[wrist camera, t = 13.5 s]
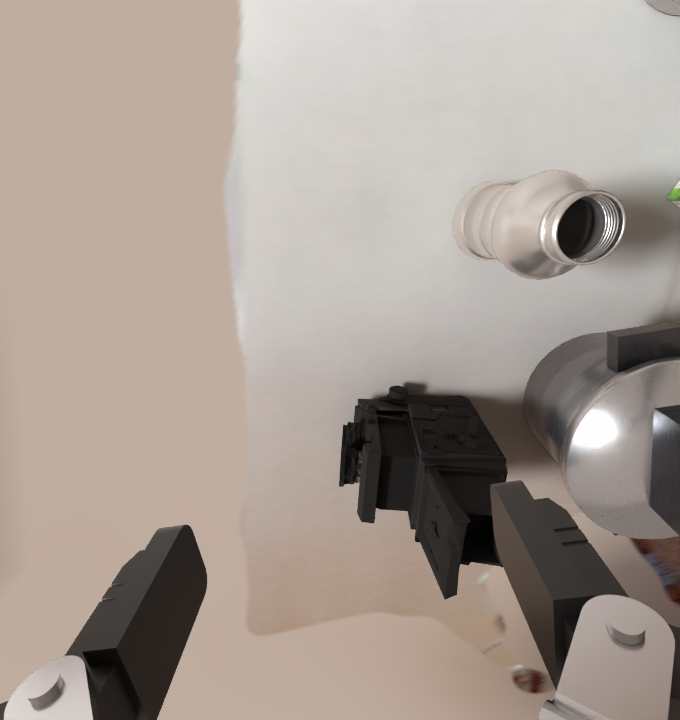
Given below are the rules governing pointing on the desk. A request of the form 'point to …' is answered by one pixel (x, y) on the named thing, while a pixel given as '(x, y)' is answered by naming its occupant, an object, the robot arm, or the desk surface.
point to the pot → (588, 375)
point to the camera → (427, 475)
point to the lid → (628, 452)
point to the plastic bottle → (539, 224)
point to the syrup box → (675, 195)
